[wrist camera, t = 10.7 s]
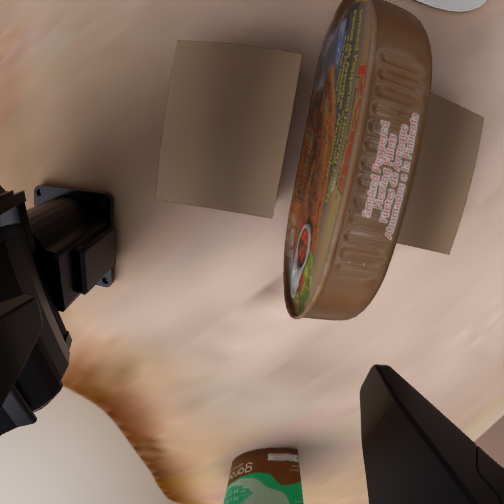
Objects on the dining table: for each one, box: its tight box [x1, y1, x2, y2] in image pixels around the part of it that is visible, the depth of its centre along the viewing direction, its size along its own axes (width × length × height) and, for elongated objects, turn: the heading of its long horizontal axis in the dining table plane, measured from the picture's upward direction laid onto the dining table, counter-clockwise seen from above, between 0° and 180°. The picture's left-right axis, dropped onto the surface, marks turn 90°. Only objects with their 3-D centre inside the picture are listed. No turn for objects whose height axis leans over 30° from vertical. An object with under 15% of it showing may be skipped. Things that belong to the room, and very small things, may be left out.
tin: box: [283, 0, 432, 320], centre depth 13 cm, size 15×3×8 cm, turn 170°
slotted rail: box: [156, 40, 484, 255], centre depth 15 cm, size 16×8×3 cm, turn 81°
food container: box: [224, 448, 303, 504], centre depth 24 cm, size 12×6×10 cm, turn 158°
